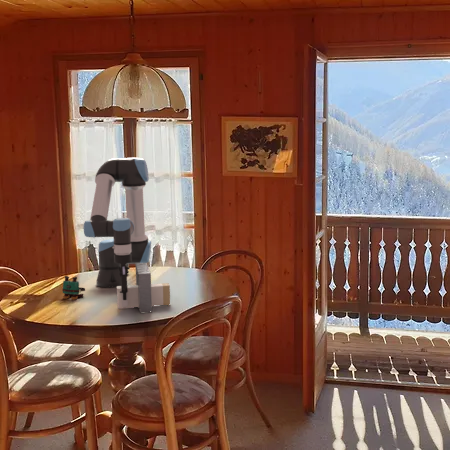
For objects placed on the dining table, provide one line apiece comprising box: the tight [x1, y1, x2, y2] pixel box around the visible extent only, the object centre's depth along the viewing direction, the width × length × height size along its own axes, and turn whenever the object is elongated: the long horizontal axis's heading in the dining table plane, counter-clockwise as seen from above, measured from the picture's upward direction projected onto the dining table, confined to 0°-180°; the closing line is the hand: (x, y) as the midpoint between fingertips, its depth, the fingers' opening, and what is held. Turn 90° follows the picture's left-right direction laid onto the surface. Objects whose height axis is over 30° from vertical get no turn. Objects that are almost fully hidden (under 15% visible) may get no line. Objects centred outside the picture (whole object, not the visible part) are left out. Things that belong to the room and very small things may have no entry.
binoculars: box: [62, 275, 86, 301], centre depth 295 cm, size 9×11×10 cm
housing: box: [135, 263, 153, 314], centre depth 277 cm, size 5×24×17 cm, turn 11°
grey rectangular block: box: [116, 282, 171, 310], centre depth 278 cm, size 23×5×9 cm, turn 102°
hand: (124, 304), depth 277 cm, fingers open, 6 cm apart
